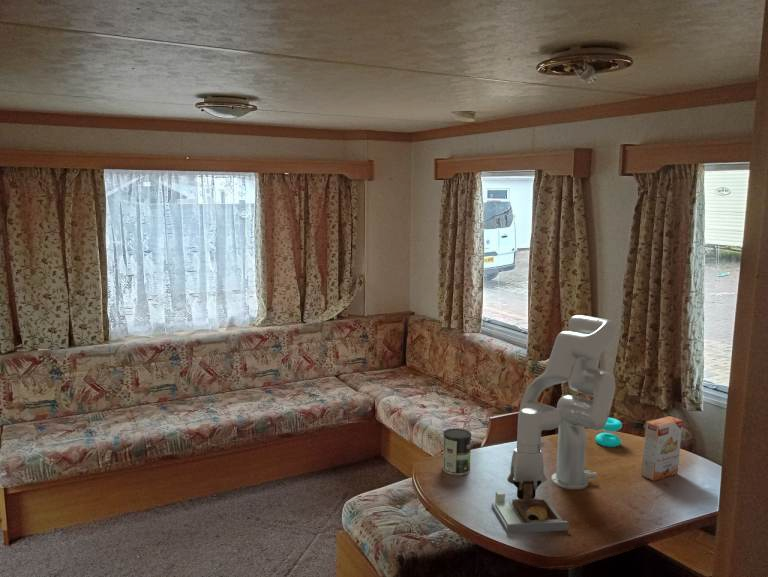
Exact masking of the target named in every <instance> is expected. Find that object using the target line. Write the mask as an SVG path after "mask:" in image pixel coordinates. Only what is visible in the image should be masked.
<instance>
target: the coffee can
mask: <svg viewBox="0 0 768 577" xmlns="http://www.w3.org/2000/svg"><path fill="white" fill-rule="evenodd" d="M442 436H443V442H442V443H443V446H442V470H443V472H444V473H446V474H448V475H453V476H464V475H468V474H469V473H470V471H471V448H472V445H471V444H472V433H471V432H470V431H469V430H466V429H464V428H449V429H445V430H444V431H443V432H442Z"/></svg>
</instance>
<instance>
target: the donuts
mask: <svg viewBox="0 0 768 577" xmlns="http://www.w3.org/2000/svg"><path fill="white" fill-rule="evenodd" d="M622 428H623V423H622V422H621V421H620V420H619V419H616V418H615V417H614V418H613V417H610V416H608V420H607V422H606V425H605V426H604V428H603V429H602V430H603V431H607V432H600V433H599V434H597V435H596V436H595V442H596V443H597V444H598V445H600V446H603V447H606V446H607V448H616V446H617V447H619V446H620V445H621V444H622V440H621V438H620V437H619V436H618V435H617V434H614V433H612V432H617V431H620V430H621V429H622ZM610 432H611V433H610Z"/></svg>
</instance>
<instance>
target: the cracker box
mask: <svg viewBox="0 0 768 577" xmlns="http://www.w3.org/2000/svg"><path fill="white" fill-rule="evenodd" d="M683 422H684V420H682V419H680V418H677V417H674V416H671V415H670V416H664V417H660V418H657V419H653V420H648V421H646V422H645V431H644V441H643V454H642V463H641V475H642V477H644V478H646V479H648V478H649V479H648V480H650V479H651V481H652V480H653V482H656V481H658V479H659V480H662V479H664V478H663V477H665V478H667V477H666V476H668V477H670V476H669V475H671V476H673V475H672V474H674V473H677V472H678V470H679V462H680V452H681V444H682V443H681V442H682V433H683V425H684V424H683ZM677 474H678V473H677ZM641 475H640V476H641ZM661 478H662V479H661ZM655 480H656V481H655Z"/></svg>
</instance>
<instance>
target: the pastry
mask: <svg viewBox="0 0 768 577" xmlns="http://www.w3.org/2000/svg"><path fill="white" fill-rule="evenodd" d="M524 512H525V514H526V515H527V517H528V518H529V520H530V521H533V520H548V517H549V514H548V513H547V509H546V508H544V507H541V506H533V507H528V509H526V510H525V511H524Z"/></svg>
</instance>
